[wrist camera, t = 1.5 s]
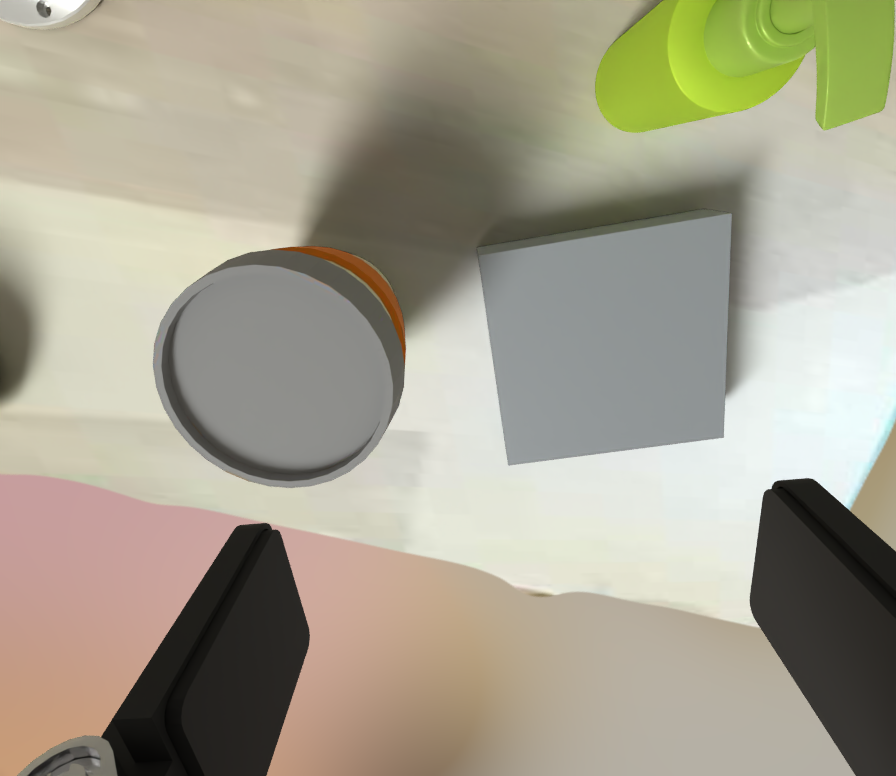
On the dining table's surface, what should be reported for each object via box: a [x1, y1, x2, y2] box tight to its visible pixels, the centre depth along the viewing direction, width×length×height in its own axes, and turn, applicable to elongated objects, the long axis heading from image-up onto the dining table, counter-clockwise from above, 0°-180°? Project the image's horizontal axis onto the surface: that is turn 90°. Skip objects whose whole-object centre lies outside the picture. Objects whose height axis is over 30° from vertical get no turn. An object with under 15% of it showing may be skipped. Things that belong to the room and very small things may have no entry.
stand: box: [477, 209, 732, 465], centre depth 38 cm, size 16×16×4 cm
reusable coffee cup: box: [153, 246, 406, 488], centre depth 33 cm, size 13×13×15 cm
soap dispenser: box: [595, 0, 895, 133], centre depth 24 cm, size 6×7×20 cm
